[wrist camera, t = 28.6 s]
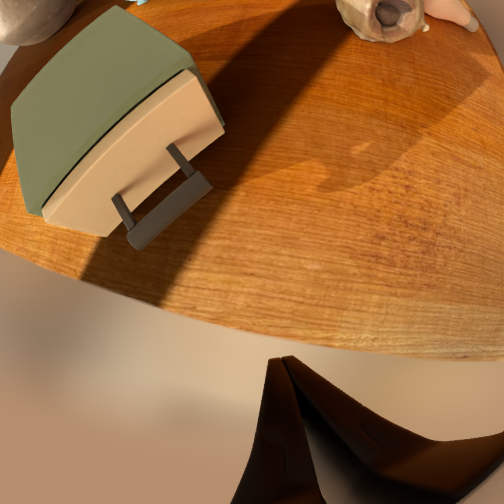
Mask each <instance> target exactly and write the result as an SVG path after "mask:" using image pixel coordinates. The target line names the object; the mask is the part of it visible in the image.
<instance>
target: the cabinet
mask: <svg viewBox="0 0 504 504" xmlns="http://www.w3.org/2000/svg"><path fill="white" fill-rule="evenodd" d="M185 69H188V70H189V71H190V72H192V73H193V74H194V75H195V76H196V77H197V78H198V80H199V82H200V84H201V86H202V88H203V90H204V92H205V94H206V96H207V98H208V100H209V102H210V103H211V105H212V107H213V109H214V111H215V113H216V115H217V117H218V119H219V121H220V123H221V125H222V127H223V126H224V125H225V123H224V121H223V119H222V117H221V114H220V112H219V110H218V108H217V106H216V104H215V102H214V100H213V98H212V96H211V94H210V92H209V90H208V88H207V86H206V84H205V82H204V80H203V77H202V75H201V73H200V71H199V69H198V67H197V65H196V63H195V61H194V60H193V58H192V56H191V54H190V53H189V52H188V51H187V50H185V49H184V48H183V47H181V46H180V45H178V44H177V43H176V42H174V41H173V40H171V39H170V38H168V37H167V36H165V35H164V34H162V33H161V32H159V31H158V30H156V29H155V28H153V27H152V26H150V25H149V24H147V23H146V22H144V21H142V20H141V19H139V18H137V17H136V16H134V15H132V14H131V13H129V12H127V11H126V10H124V9H122V8H120V7H119V6H117V5H115V6H113V7H112V8H111V9H109V10H108V11H106V12H105V13H104V14H102V15H101V16H100V17H98V18H97V19H96V20H95V21H93V22H92V23H91V24H90V25H88V26H87V27H86V28H85V29H83V30H82V31H81V32H80V33H79V34H78V35H76V36H75V37H74V38H73V39H72V40H71V41H70V42H69V43H68V44H66V45H65V46H64V47H63V48H62V49H61V50H60V51H59V52H58V53H57V54H56V55H55V56H54V57H53V58H52V59H51V60H50V61H49V62H48V63H47V64H46V65H45V66H44V67H43V68H42V70H41V71H40V72H39V73H38V74H37V75H36V76H35V77H34V78H33V80H32V81H31V82H30V83H29V84H28V85H27V87H26V88H25V89H24V90H23V92H22V93H21V94H20V95H19V97H18V98H17V99H16V100H15V102H14V103H13V104H12V106H11V119H12V132H13V141H14V149H15V156H16V163H17V169H18V174H19V180H20V185H21V189H22V194H23V198H24V202H25V206H26V210H27V213H29V214H33V215H35V214H36V215H37V216H41V217H44V216H43V213H42V208H43V207H44V206H45V204H46V203H47V202H48V200H49V199H50V198H51V196H52V195H53V194H54V192H53V190H54V189H55V188H56V186H57V185H58V184H59V183H60V181H61V180H62V179H63V178H64V177H65V175H66V174H67V173H68V172H69V171H70V170H71V168H72V167H73V166H74V165H75V164H76V163H77V162H78V160H79V159H80V158H81V157H82V156H83V155H84V154H85V153H86V152H87V151H88V150H89V148H90V147H91V146H92V145H93V144H94V143H95V142H96V141H97V140H98V139H99V138H100V137H101V136H102V135H103V134H104V133H105V132H106V131H107V130H108V129H109V128H110V127H111V126H112V125H114V124H115V123H116V122H117V121H118V120H119V119H120V118H121V117H122V116H123V115H124V114H126V113H127V112H128V111H129V110H130V109H131V108H132V107H134V106H135V105H136V104H137V103H138V102H139V101H141V100H142V99H143V98H144V97H145V96H147V95H148V94H149V93H150V92H152V91H153V90H154V89H155V88H157V87H158V86H159V85H161V84H162V83H163V82H165V81H166V80H167V79H169V78H170V77H171V76H173V77H176V76H177V75H178V74H180V73H181V72H183V71H184V70H185Z"/></svg>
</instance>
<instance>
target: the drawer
mask: <svg viewBox="0 0 504 504" xmlns="http://www.w3.org/2000/svg"><path fill="white" fill-rule="evenodd" d="M148 95H149V97H148V98H147V99H146V100H144V101H143V102H142V103H141V104H140V105H138V106H137V107H136V108H135V109H134V110H133V111H131V112H130V113H129V114H128V115H127V116H126V117H125V118H124V119H122V120H121V121H120V122H119V123H118V124H117V125H116V126H115V127H114V128H113V129H112V130H111V131H110V132H109V133H108V134H107V135H106V136H105V137H104V138H103V139H102V140H101V141H100V142H99V143H98V144H97V145H96V146H95V147H94V148H93V149H92V150H91V151H90V152H89V153H88V154H87V155H86V156H85V157H84V158H83V159H82V161H81V158H80V159H79V160H78V162H77V163H76V164H75V165H74V166H73V167H72V168H71V170H70V171H69V172H68V173H67V174H66V175H65V177H64V178H63V179H62V180H61V181H60V183H59V184H58V185H57V186H56V188H55V189H54V190H53V192H54V194H53V195H52V196H51V198H50V199H49V200H48V202H47V203H46V204H45V206H44V207H43V208H42V213H43V216H44V219H45V222H46V223H48V224H53V225H57V226H61V227H65V228H69V229H73V230H78V231H82V232H86V233H91V234H95V235H99V236H103V237H107V236H108V235H109V234H110V233H111V232H112V231H113V230H114V229H115V228H116V227H117V226H118V225H119V224H120V223H121V222H122V221H123V222H124V224H125V225H126V227H127V229H128V230H129V231H130V232H129V233H127V239H128V241H129V243H130V244H131V245H132V246H133V247H134V248H135V249H137V250H139V251H141V250H142V249H143V248H145V247H146V246H147V245H148V244H149V243H150V242H151V241H152V240H153V239H154V238H155V237H157V236H158V235H159V234H160V233H161V232H162V231H163V230H164V229H165V228H167V227H168V226H169V225H170V224H171V223H172V222H173V221H175V220H176V219H177V218H178V217H179V216H180V215H181V214H183V213H184V212H185V211H186V210H187V209H188V208H190V207H191V206H192V205H193V204H194V203H196V202H197V201H198V200H199V199H200V198H202V197H203V196H204V195H205V194H206V193H208V192H209V191H210V190H211V189H212V188H213V186H212V185H211V184H210V182H209V181H208V180H207V179H206V177H205V176H204V175H203V174H202V173H201V172H200V171H199V170H198V171H197V172H196V170H195V169H194V168H193V167H192V165H191V164H190V163H189V162H188V161H189V160H191V159H192V158H193V157H194V156H195V155H197V154H198V153H199V152H200V151H202V150H203V149H204V148H206V147H207V146H208V145H209V144H211V143H212V142H213V141H215V140H216V139H217V138H218V137H220V136H221V135H222V134H224V133H225V131H224V129H223V127H222V125H221V123H220V121H219V119H218V117H217V115H216V113H215V111H214V109H213V107H212V105H211V103H210V102H209V100H208V98H207V96H206V94H205V92H204V90H203V88H202V86H201V84H200V82H199V80H198V78H197V77H196V76H195V75H194V74H193V73H192V72H190V71H189V70H188V69H185V70H184V71H183V72H181V73H180V74H178V75H177V76H176V77H173V76H171V77H170V78H169V79H167V80H166V81H165V82H163V83H162V84H161V85H159V86H158V87H157V88H155V89H154V90H153V91H152V92H150V93H149V94H148ZM180 168H181V169H182V170H183V172H184V173H185V174H186V176H187V177H188V179H187V180H186V181H185V182H184V183H182V184H181V185H180V186H179V187H178V188H177V189H175V190H174V191H173V192H172V193H171V194H170V195H168V196H167V197H166V198H165V199H164V200H163V201H162V202H161V203H159V204H158V205H157V206H156V207H155V208H154V209H153V210H152V211H151V212H150V213H149V214H147V215H146V216H145V217H144V218H143V219H142V220H141V221H140V222H139V223H137V222H136V220H135V218H134V217H133V215H132V213H131V212H132V211H133V210H134V209H135V208H136V207H137V206H138V205H139V204H140V203H141V202H143V201H144V200H145V199H146V198H147V197H148V196H149V195H150V194H151V193H152V192H153V191H155V190H156V189H157V188H158V187H159V186H160V185H161V184H162V183H163V182H165V181H166V180H167V179H168V178H169V177H170V176H171V175H173V174H174V173H175V172H176V171H177V170H179V169H180Z"/></svg>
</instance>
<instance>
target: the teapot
mask: <svg viewBox="0 0 504 504" xmlns="http://www.w3.org/2000/svg"><path fill="white" fill-rule="evenodd" d="M129 1H138V3H137V4H138V5H141V4H143V3H146V2H147V1H149V0H129Z"/></svg>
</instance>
